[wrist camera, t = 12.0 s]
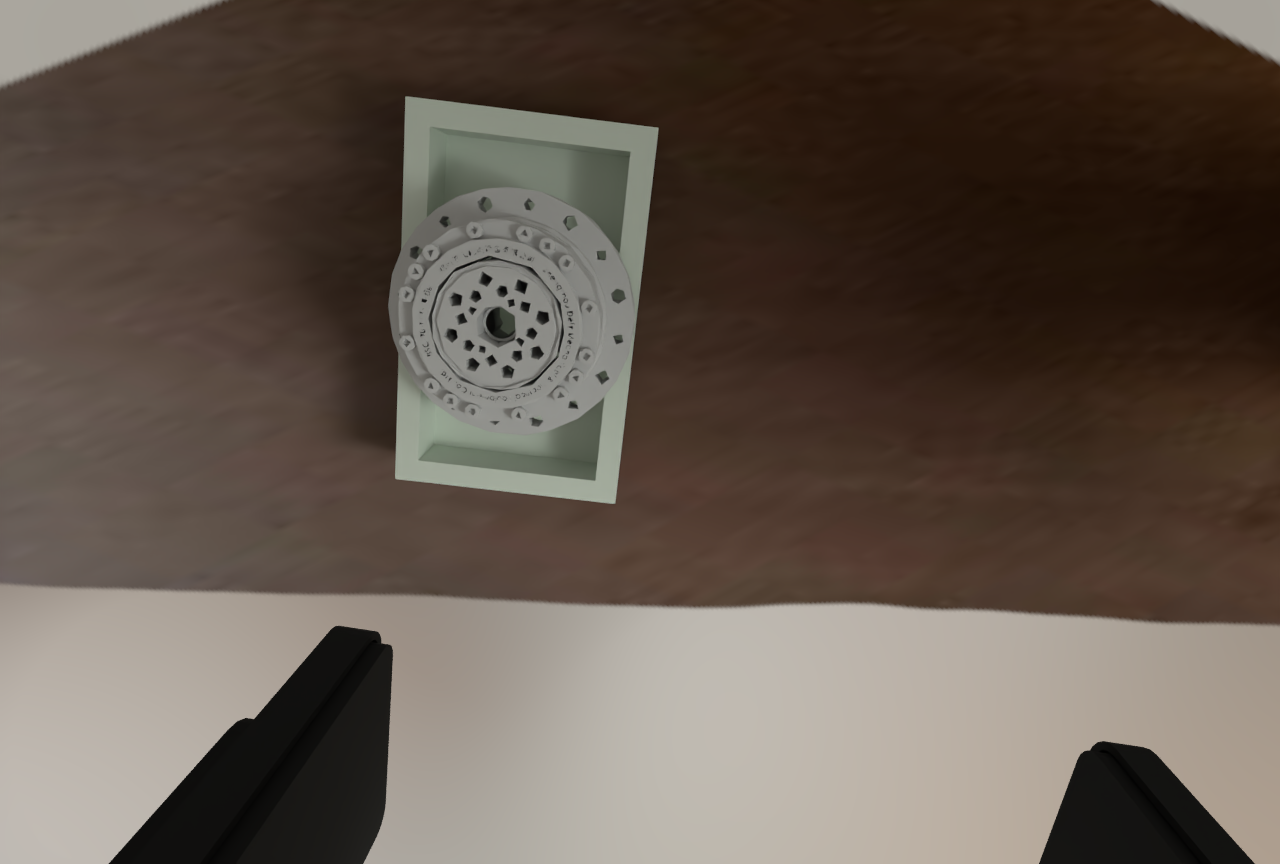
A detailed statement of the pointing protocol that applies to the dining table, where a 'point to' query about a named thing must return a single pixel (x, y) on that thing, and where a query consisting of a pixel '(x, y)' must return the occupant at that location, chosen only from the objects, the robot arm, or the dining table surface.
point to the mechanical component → (511, 311)
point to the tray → (587, 180)
